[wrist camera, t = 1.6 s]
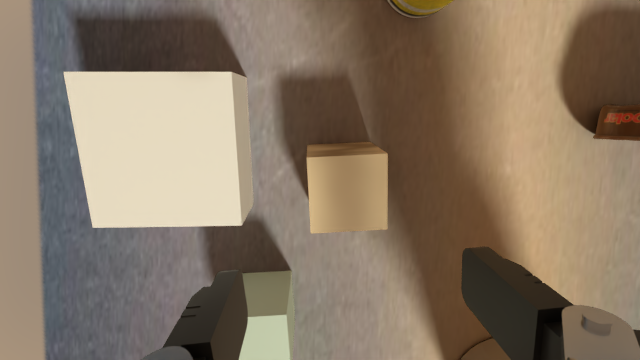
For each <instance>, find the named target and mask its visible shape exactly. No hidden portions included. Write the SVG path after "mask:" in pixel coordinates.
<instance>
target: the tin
mask: <svg viewBox="0 0 640 360" xmlns="http://www.w3.org/2000/svg"><path fill="white" fill-rule="evenodd" d="M593 138H594V139H613V140H634V141H640V104H639V105H624V106H617V105H611V104H608V105H604V106H603V107H602V108H601V110H600V114H599V118H598V124H597V129H596V134H595V135H594V136H593Z"/></svg>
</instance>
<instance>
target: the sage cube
mask: <svg viewBox="0 0 640 360" xmlns="http://www.w3.org/2000/svg"><path fill="white" fill-rule="evenodd" d="M242 275H243V282H244V288H245V295H246V302H247V308H248V323H247V329H246V333H245V337H244V341H243V345H242V348H241V352H240V356H239V360H292V358H293V344H294V330H295V310H294V297H293V283H292V271H275V272H257V273H242Z"/></svg>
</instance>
